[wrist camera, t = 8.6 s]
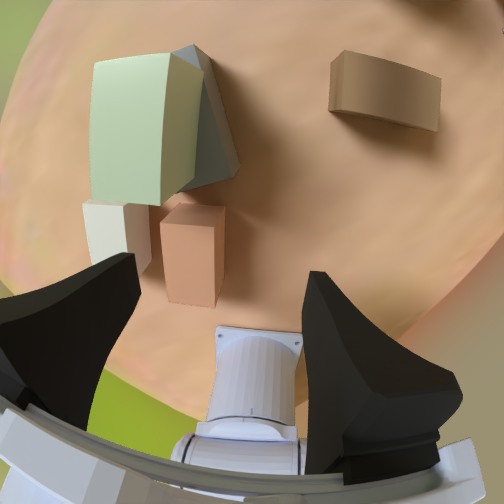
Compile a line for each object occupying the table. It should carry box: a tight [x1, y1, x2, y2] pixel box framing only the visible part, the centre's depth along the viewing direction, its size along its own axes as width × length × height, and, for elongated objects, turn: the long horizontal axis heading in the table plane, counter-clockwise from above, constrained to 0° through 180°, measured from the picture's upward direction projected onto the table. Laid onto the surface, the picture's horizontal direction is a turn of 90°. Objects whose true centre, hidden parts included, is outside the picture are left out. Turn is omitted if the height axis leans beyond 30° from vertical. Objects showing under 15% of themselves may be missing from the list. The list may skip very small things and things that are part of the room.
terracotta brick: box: [160, 203, 225, 308], centre depth 19 cm, size 6×3×4 cm, turn 177°
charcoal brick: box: [172, 44, 240, 194], centre depth 15 cm, size 8×5×4 cm, turn 15°
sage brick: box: [89, 53, 204, 206], centre depth 11 cm, size 6×3×5 cm, turn 173°
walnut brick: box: [328, 50, 441, 132], centre depth 13 cm, size 6×3×4 cm, turn 87°
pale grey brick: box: [82, 198, 152, 277], centre depth 19 cm, size 6×3×4 cm, turn 175°
